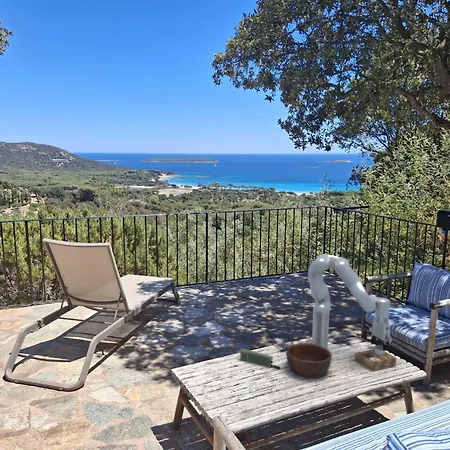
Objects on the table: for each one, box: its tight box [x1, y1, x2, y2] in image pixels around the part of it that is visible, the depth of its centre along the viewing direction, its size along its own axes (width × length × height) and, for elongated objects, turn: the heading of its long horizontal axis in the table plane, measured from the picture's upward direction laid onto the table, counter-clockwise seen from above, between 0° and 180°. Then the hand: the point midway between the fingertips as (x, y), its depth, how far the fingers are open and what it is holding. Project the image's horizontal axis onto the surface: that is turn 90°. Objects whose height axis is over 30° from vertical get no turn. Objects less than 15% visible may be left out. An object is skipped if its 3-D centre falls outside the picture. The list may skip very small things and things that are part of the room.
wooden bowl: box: [285, 342, 333, 379], centre depth 229 cm, size 25×25×10 cm
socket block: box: [354, 348, 397, 372], centre depth 238 cm, size 18×14×5 cm
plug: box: [374, 344, 386, 356], centre depth 240 cm, size 4×4×8 cm
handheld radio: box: [239, 348, 281, 370], centre depth 234 cm, size 7×3×25 cm
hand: (379, 347), depth 240 cm, fingers open, 9 cm apart
